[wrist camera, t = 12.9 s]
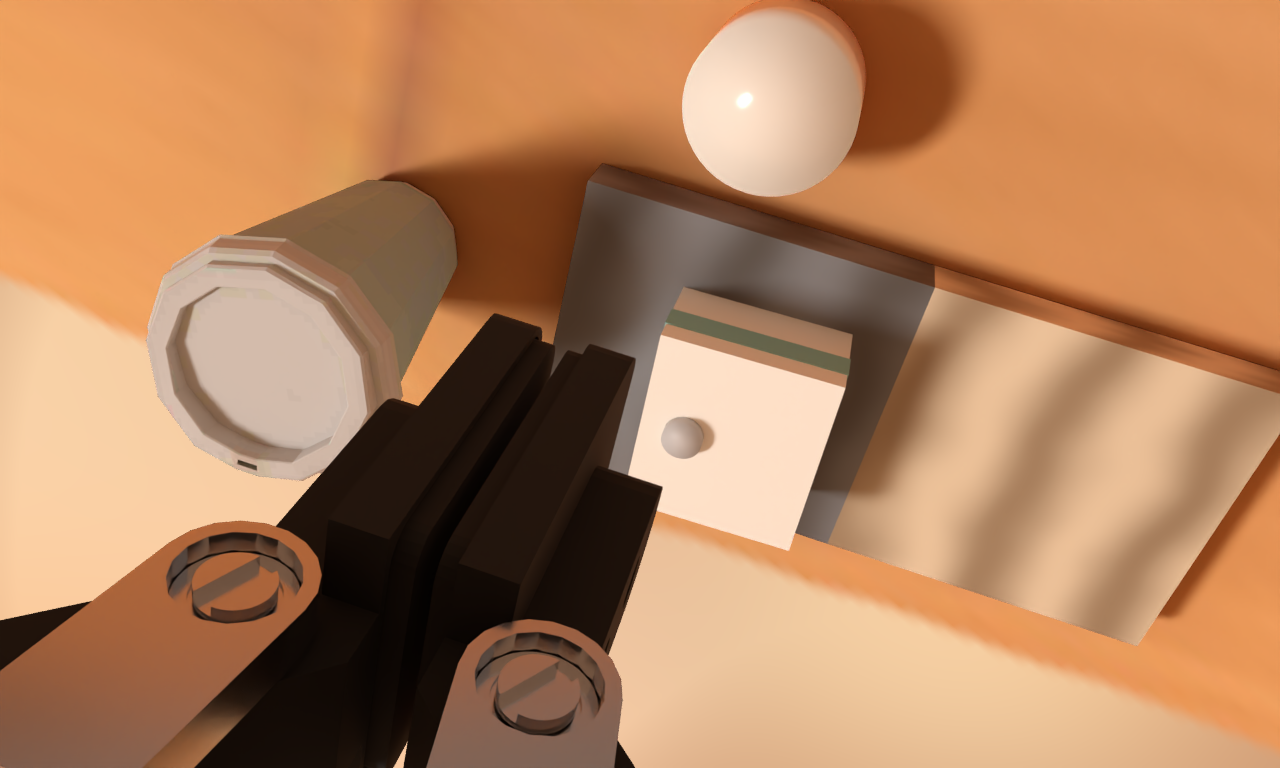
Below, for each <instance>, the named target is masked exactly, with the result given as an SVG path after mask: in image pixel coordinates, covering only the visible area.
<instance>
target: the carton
mask: <svg viewBox="0 0 1280 768" xmlns="http://www.w3.org/2000/svg"><path fill="white" fill-rule="evenodd" d="M852 336H853V334H849V333H846V332H842V331H838V330H835V329H831V328H828V327H824V326H821V325H817V324H814V323H810V322H807V321H803V320H799V319H796V318H792V317H789V316H785V315H782V314H778V313H775V312H771V311H767V310H764V309H760V308H757V307H753V306H750V305H746V304H743V303H739V302H736V301H732V300H728V299H725V298H721V297H718V296H714V295H711V294H707V293H704V292H700V291H697V290H693V289H689V288H686V287H683V289H682V291H681V293H680V295H679V298H678V300H677V302H676V304H675V306H674V308H673V309H671V311H670V313H669V315H668V317H667V320H666V322H665V325H664V329H663V331H662V333H661V336H660V340H659V344H658V349H657V353H656V357H655V362H654V366H653V370H652V374H651V379H650V383H649V387H648V392H647V396H646V400H645V404H644V409H643V413H642V417H641V422H640V426H639V430H638V434H637V439H636V443H635V447H634V452H633V456H632V460H631V464H630V469H629V473H628V475H629V476H632V477H635V478H638V479H641V480H644V481H647V482H650V483H653V484H656V485H659V486H662V487H663V490H662V493H661V497H660V501H659V504H658V508H657V511H659V512H663V513H666V514H669V515H672V516H676V517H679V518H682V519H686V520H689V521H692V522H696V523H699V524H702V525H705V526H709V527H712V528H715V529H719V530H722V531H725V532H728V533H732V534H735V535H738V536H742V537H745V538H748V539H751V540H755V541H758V542H761V543H765V544H768V545H771V546H775V547H778V548H781V549H784V550H788V551H789V549H790V546H791V543H792V540H793V537H794V534H795V531H796V528H797V526H798V523H799V520H800V517H801V514H802V511H803V508H804V506H805V503H806V500H807V497H808V494H809V491H810V488H811V486H812V483H813V480H814V477H815V474H816V471H817V468H818V466H819V463H820V460H821V457H822V454H823V451H824V448H825V446H826V443H827V440H828V437H829V434H830V431H831V428H832V425H833V423H834V420H835V417H836V414H837V411H838V408H839V405H840V403H841V400H842V397H843V394H844V391H845V388H846V381H847V378H848V376H849V369H850V362H851V359H850V351H851V344H852Z"/></svg>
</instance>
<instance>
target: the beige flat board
mask: <svg viewBox="0 0 1280 768" xmlns="http://www.w3.org/2000/svg"><path fill="white" fill-rule="evenodd" d="M683 287H686V288H689V289H693V290H697V291H700V292H704V293H707V294H711V295H714V296H718V297H721V298H725V299H728V300H732V301H736V302H739V303H743V304H746V305H750V306H753V307H757V308H760V309H764V310H767V311H771V312H775V313H778V314H782V315H785V316H789V317H792V318H796V319H799V320H803V321H807V322H810V323H814V324H817V325H821V326H824V327H828V328H831V329H835V330H838V331H842V332H846V333H849V334H853V336H852V344H851V351H850V359H851V362H850V369H849V376H848V378H847V381H846V388H845V391H844V394H843V397H842V400H841V403H840V405H839V408H838V411H837V414H836V417H835V420H834V423H833V425H832V428H831V431H830V434H829V437H828V440H827V443H826V446H825V448H824V451H823V454H822V457H821V460H820V463H819V466H818V468H817V471H816V474H815V477H814V480H813V483H812V486H811V488H810V491H809V494H808V497H807V500H806V503H805V506H804V508H803V511H802V514H801V517H800V520H799V523H798V526H797V528H796V531H795V533H797V534H800V535H803V536H806V537H809V538H812V539H815V540H818V541H821V542H824V543H827V544H830V545H833V546H836V547H839V548H842V549H845V550H848V551H851V552H854V553H857V554H860V555H863V556H866V557H869V558H872V559H875V560H878V561H881V562H884V563H887V564H890V565H893V566H896V567H899V568H902V569H905V570H908V571H911V572H914V573H917V574H920V575H923V576H926V577H930V578H933V579H936V580H939V581H942V582H945V583H948V584H951V585H954V586H957V587H960V588H963V589H966V590H969V591H972V592H975V593H978V594H981V595H984V596H987V597H990V598H993V599H996V600H999V601H1002V602H1005V603H1008V604H1011V605H1014V606H1017V607H1020V608H1023V609H1026V610H1029V611H1032V612H1035V613H1038V614H1041V615H1044V616H1047V617H1050V618H1053V619H1056V620H1059V621H1062V622H1065V623H1069V624H1072V625H1075V626H1078V627H1081V628H1084V629H1087V630H1090V631H1093V632H1096V633H1099V634H1102V635H1105V636H1108V637H1111V638H1114V639H1117V640H1120V641H1123V642H1126V643H1129V644H1132V645H1135V646H1138V644H1139V643H1140V641H1141V640H1142V638H1143V637H1144V635H1145V634H1146V632H1147V631H1148V629H1149V628H1150V626H1151V625H1152V623H1153V622H1154V620H1155V619H1156V617H1157V616H1158V614H1159V613H1160V611H1161V610H1162V609H1163V607H1164V606H1165V604H1166V603H1167V601H1168V600H1169V598H1170V597H1171V595H1172V594H1173V592H1174V591H1175V589H1176V588H1177V586H1178V585H1179V583H1180V582H1181V580H1182V579H1183V577H1184V576H1185V574H1186V573H1187V571H1188V570H1189V568H1190V567H1191V565H1192V564H1193V562H1194V561H1195V559H1196V558H1197V556H1198V555H1199V553H1200V552H1201V550H1202V549H1203V547H1204V546H1205V544H1206V543H1207V541H1208V540H1209V538H1210V537H1211V535H1212V534H1213V532H1214V531H1215V530H1216V528H1217V527H1218V525H1219V524H1220V522H1221V521H1222V519H1223V518H1224V516H1225V515H1226V513H1227V512H1228V510H1229V509H1230V507H1231V506H1232V504H1233V503H1234V501H1235V500H1236V498H1237V497H1238V495H1239V494H1240V492H1241V491H1242V489H1243V488H1244V486H1245V485H1246V483H1247V482H1248V480H1249V479H1250V477H1251V476H1252V474H1253V473H1254V471H1255V470H1256V468H1257V467H1258V465H1259V464H1260V462H1261V461H1262V459H1263V458H1264V456H1265V455H1266V453H1267V452H1268V451H1269V449H1270V448H1271V446H1272V445H1273V443H1274V442H1275V440H1276V439H1277V437H1278V436H1279V434H1280V371H1278V370H1274V369H1271V368H1268V367H1264V366H1261V365H1258V364H1255V363H1251V362H1248V361H1245V360H1242V359H1238V358H1235V357H1232V356H1229V355H1225V354H1222V353H1219V352H1216V351H1212V350H1209V349H1206V348H1203V347H1199V346H1196V345H1193V344H1190V343H1186V342H1183V341H1180V340H1176V339H1173V338H1170V337H1167V336H1163V335H1160V334H1157V333H1154V332H1150V331H1147V330H1144V329H1141V328H1137V327H1134V326H1131V325H1128V324H1124V323H1121V322H1118V321H1115V320H1111V319H1108V318H1105V317H1101V316H1098V315H1095V314H1092V313H1088V312H1085V311H1082V310H1079V309H1075V308H1072V307H1069V306H1066V305H1062V304H1059V303H1056V302H1053V301H1049V300H1046V299H1043V298H1040V297H1036V296H1033V295H1030V294H1027V293H1023V292H1020V291H1017V290H1013V289H1010V288H1007V287H1004V286H1000V285H997V284H994V283H991V282H987V281H984V280H981V279H978V278H974V277H971V276H968V275H965V274H961V273H958V272H955V271H952V270H948V269H945V268H942V267H939V266H935V265H932V264H929V263H925V262H922V261H919V260H916V259H912V258H909V257H906V256H903V255H899V254H896V253H893V252H890V251H886V250H883V249H880V248H877V247H873V246H870V245H867V244H864V243H860V242H857V241H854V240H850V239H847V238H844V237H841V236H837V235H834V234H831V233H828V232H824V231H821V230H818V229H815V228H811V227H808V226H805V225H802V224H798V223H795V222H792V221H789V220H785V219H782V218H779V217H776V216H772V215H769V214H766V213H762V212H759V211H756V210H753V209H749V208H746V207H743V206H740V205H736V204H733V203H730V202H727V201H723V200H720V199H717V198H714V197H710V196H707V195H704V194H701V193H697V192H694V191H691V190H687V189H684V188H681V187H678V186H674V185H671V184H668V183H665V182H661V181H658V180H655V179H652V178H648V177H645V176H642V175H639V174H635V173H632V172H629V171H626V170H622V169H619V168H616V167H613V166H609V165H606V164H603V163H602V164H601V165H600V167H599V168H598V169H597V170H596V171H595V173H594V174H593V175H592V176H591V177H590V179H589V180H588V183H587V187H586V192H585V197H584V201H583V206H582V211H581V215H580V220H579V225H578V230H577V234H576V239H575V244H574V248H573V253H572V258H571V263H570V267H569V272H568V277H567V281H566V286H565V291H564V296H563V300H562V305H561V310H560V314H559V319H558V324H557V329H556V333H555V338H554V343H553V345H555V356H554V361H553V366H552V371H551V375H552V374H553V372H554V370H555V369H556V367H557V366H558V364H559V362H560V361H561V359H562V358H563V356H564V354H565V353H566V352H567V350H571V351H574V352H577V353H580V354H583V353H584V351H585V349H586V348H587V346H588V345H589V344H593V345H597V346H600V347H603V348H606V349H609V350H612V351H615V352H618V353H622V354H625V355H628V356H631V357H634V358H636V363H635V368H634V372H633V376H632V380H631V384H630V388H629V392H628V396H627V399H626V403H625V407H624V411H623V415H622V418H621V422H620V426H619V430H618V434H617V438H616V441H615V445H614V449H613V453H612V457H611V460H610V464H609V468H608V469H611V470H614V471H617V472H620V473H623V474H626V475H628V473H629V469H630V464H631V460H632V456H633V452H634V447H635V443H636V439H637V434H638V430H639V426H640V422H641V417H642V413H643V409H644V404H645V400H646V396H647V392H648V387H649V383H650V379H651V374H652V370H653V366H654V362H655V357H656V353H657V349H658V344H659V340H660V336H661V333H662V331H663V329H664V325H665V322H666V320H667V317H668V315H669V313H670V311H671V309H673V308H674V306H675V304H676V302H677V300H678V298H679V295H680V293H681V291H682V289H683ZM551 375H550V377H551Z"/></svg>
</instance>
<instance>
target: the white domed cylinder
mask: <svg viewBox="0 0 1280 768" xmlns="http://www.w3.org/2000/svg"><path fill="white" fill-rule="evenodd" d="M865 86H866V68H865V61H864V57H863V53H862V50H861V48H860V45H859V43H858V40H857V39H856V37H855V35H854V34H853V32H852V30H851V29H850V28H849V27H848V25H847V24H846V23H845V22H844V21H843V20H842V19H841V18H840V17H839V16H838V15H837V14H835V13H834V12H833V11H831V10H830V9H828V8H827V7H825V6H823V5H821V4H819V3H817V2H814V1H811V0H760V1H758V2H755V3H753V4H751V5H749V6H747V7H745V8H743V9H742V10H740V11H739V12H737V13H736V14H735V15H734V16H732V17H731V18H730V19H729V20H728V21H727V22H726V23H725V24H724V26H723V27H722V28H721V29H720V30H719V32H718V33H717V34H716V35H715V37H714V38H713V39H712V40H711V41H710V43H709V44H708V45H707V46H706V48H705V49H704V50H703V51H702V53H701V54H700V55H699V57H698V58H697V60H696V61H695V63H694V64H693V66H692V68H691V71H690V73H689V75H688V78H687V81H686V84H685V87H684V93H683V101H682V114H683V123H684V128H685V132H686V135H687V138H688V141H689V143H690V145H691V147H692V149H693V151H694V153H695V154H696V156H697V157H698V159H699V160H700V162H701V163H702V164H703V165H704V166H705V168H706V169H707V170H708V171H709V172H710V173H711V174H713V175H714V176H715V177H716V178H717V179H719V180H720V181H722V182H723V183H725V184H726V185H728V186H730V187H732V188H734V189H736V190H739V191H742V192H744V193H748V194H752V195H757V196H767V197H771V196H784V195H790V194H794V193H798V192H801V191H803V190H806V189H808V188H810V187H812V186H814V185H816V184H817V183H819V182H821V181H822V180H823V179H825V178H826V177H827V176H829V175H830V174H831V173H832V172H833V171H834V170H835V169H836V168H837V167H838V166H839V164H840V163H841V162H842V161H843V159H844V158H845V156H846V155H847V153H848V151H849V150H850V148H851V146H852V143H853V141H854V138H855V136H856V132H857V128H858V124H859V119H860V114H861V109H862V104H863V99H864V94H865Z"/></svg>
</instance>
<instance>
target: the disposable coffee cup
mask: <svg viewBox="0 0 1280 768" xmlns="http://www.w3.org/2000/svg"><path fill="white" fill-rule="evenodd" d="M457 265H458V261H457V250H456V242H455V233H454V226H453V225H452V223H451V222H450V220H449V219H448V217H447V216H446V214H445V213H444V211H443V210H442V209H441V207H440V206H439V204H438V203H437V201H436V200H435V199H434V198H432V197H431V196H429V195H427V194H425V193H424V192H422V191H420V190H419V189H417V188H415V187H414V186H412V185H410V184H409V183H407V182H398V181H377V180H366V181H364V182H361V183H359V184H356V185H354V186H351V187H349V188H347V189H344V190H342V191H339V192H337V193H334V194H332V195H330V196H327V197H325V198H322V199H320V200H317V201H315V202H312V203H310V204H308V205H305V206H303V207H300V208H298V209H295V210H293V211H290V212H288V213H286V214H283V215H281V216H278V217H276V218H273V219H271V220H268V221H266V222H264V223H261V224H259V225H256V226H254V227H251V228H249V229H246V230H244V231H242V232H239V233H237V234H234V235H219V236H217V237H216V238H214V239H212V240H211V241H209V242H208V243H206V244H204V245H203V246H201V247H200V248H198V249H196V250H195V251H193V252H192V253H190V254H188V255H187V256H185V257H184V258H182V259H180V260H179V261H177V262H176V263H174V264H173V265H172V269H171V270H169V271H168V272H167V273H166V274H165V275H164V276H163V278H162V281H161V285H160V288H159V291H158V294H157V297H156V301H155V304H154V307H153V310H152V314H151V317H150V320H149V323H148V327H147V328H148V331H149V333H148V336H147V339H146V342H147V347H148V352H149V356H150V361H151V365H152V370H153V375H154V380H155V384H156V388H157V394H158V397H159V398H160V400H161V401H162V403H163V404H164V405H165V406H166V408H167V409H168V411H169V412H170V413H171V415H172V416H173V417H174V419H175V420H176V421H177V423H178V424H179V425H180V427H181V428H182V429H183V431H184V432H185V433H186V435H187V436H188V438H189V439H190V440H191V441H192V443H193V444H194V446H196V447H198V448H200V449H201V450H203V451H205V452H207V453H209V454H211V455H212V456H214V457H216V458H218V459H220V460H221V461H223V462H225V463H227V464H228V465H230V466H232V467H234V468H236V469H238V470H241V471H244V472H247V473H250V474H253V475H256V476H261V477H271V478H280V479H289V480H299V481H303V480H305V479H307V478H309V477H311V476H313V475H315V474H317V473H322V472H323V471H324V470H325V469H326V468H327V467H328V466H329V464H330V463H331V462H332V461H333V460H334V459H335V457H336V456H337V455H338V454H339V453H340V452H341V451H342V449H343V448H344V447H345V446H346V445H347V444H348V442H349V441H350V440H351V439H352V438H353V437H354V436H355V434H356V433H357V432H358V431H359V430H360V429H361V427H362V426H363V425H364V424H365V423H366V422H367V421H368V419H369V418H370V417H371V416H372V415H373V414H374V412H375V411H376V410H377V409H378V408H379V407H380V406H381V405H382V404H383V403H384V402H385V401H386V400H387V399H391V398H395V399H398V400H401V398H402V396H403V394H402V387H401V381H402V379H403V376H404V374H405V372H406V370H407V368H408V366H409V364H410V362H411V360H412V358H413V356H414V354H415V352H416V350H417V348H418V346H419V344H420V341H421V339H422V337H423V335H424V333H425V331H426V329H427V327H428V325H429V323H430V321H431V319H432V317H433V315H434V313H435V311H436V308H437V306H438V304H439V302H440V300H441V298H442V296H443V294H444V292H445V290H446V288H447V286H448V284H449V282H450V280H451V278H452V275H453V273H454V271H455V269H456V267H457Z"/></svg>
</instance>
